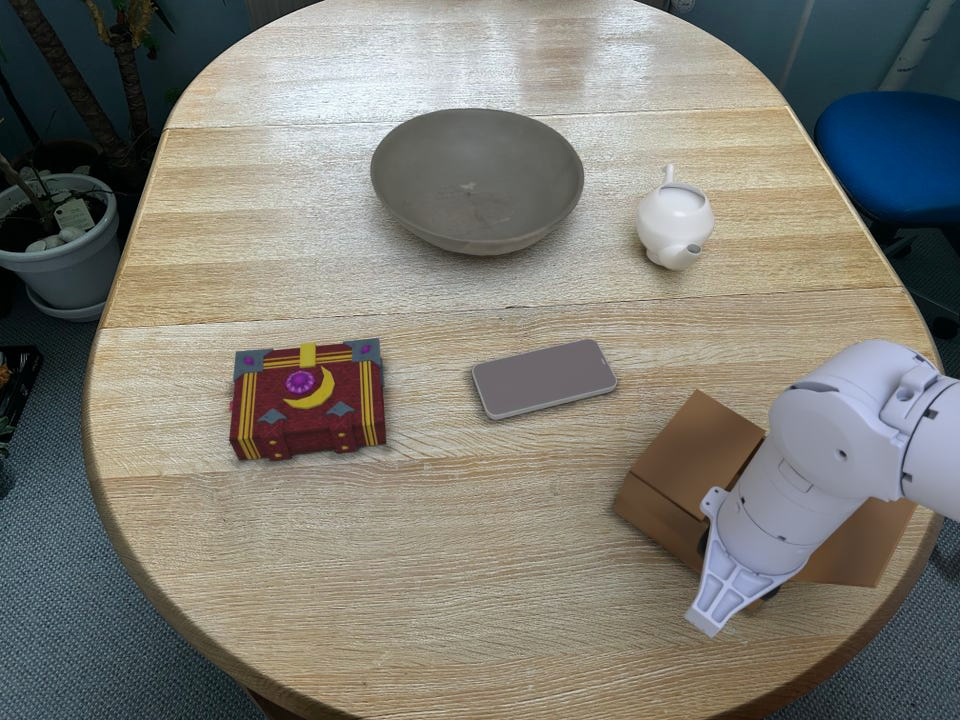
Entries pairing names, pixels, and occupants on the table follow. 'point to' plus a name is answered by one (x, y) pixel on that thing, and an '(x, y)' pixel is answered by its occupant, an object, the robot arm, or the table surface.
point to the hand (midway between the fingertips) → (719, 583)
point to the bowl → (477, 179)
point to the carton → (687, 475)
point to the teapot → (674, 222)
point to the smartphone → (543, 378)
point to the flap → (860, 545)
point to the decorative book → (307, 400)
